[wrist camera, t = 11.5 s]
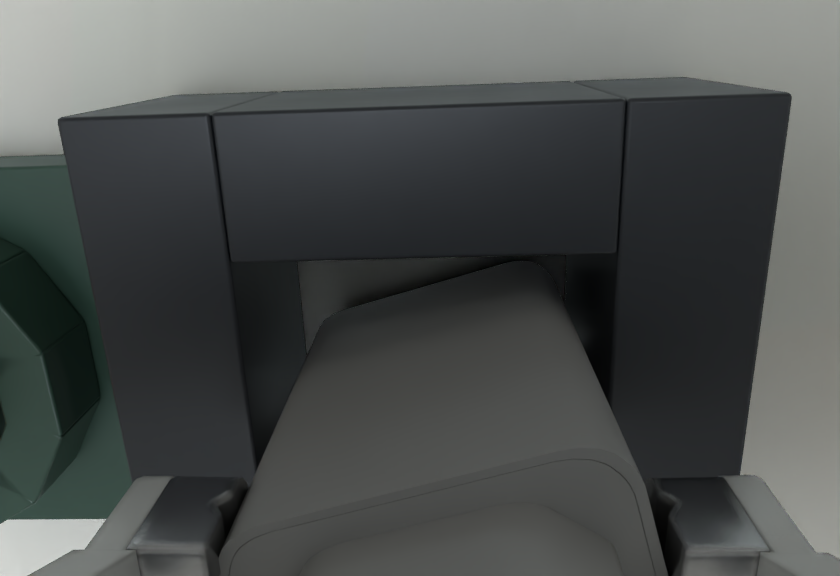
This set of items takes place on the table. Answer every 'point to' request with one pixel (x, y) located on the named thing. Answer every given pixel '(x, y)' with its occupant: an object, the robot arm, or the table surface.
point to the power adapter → (448, 446)
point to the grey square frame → (429, 242)
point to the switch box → (52, 357)
